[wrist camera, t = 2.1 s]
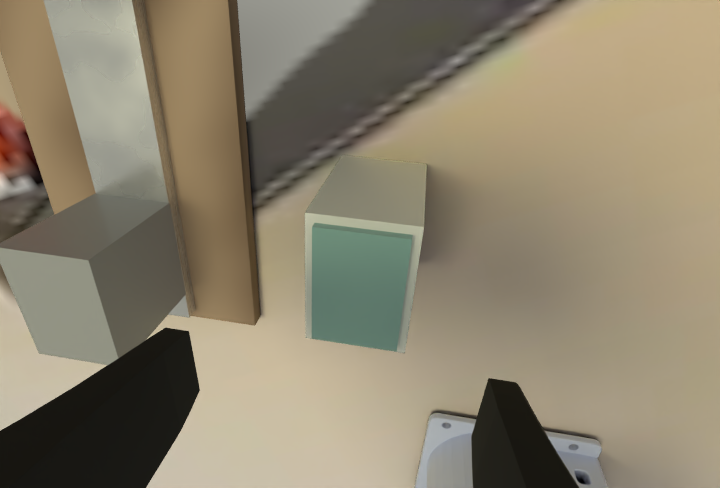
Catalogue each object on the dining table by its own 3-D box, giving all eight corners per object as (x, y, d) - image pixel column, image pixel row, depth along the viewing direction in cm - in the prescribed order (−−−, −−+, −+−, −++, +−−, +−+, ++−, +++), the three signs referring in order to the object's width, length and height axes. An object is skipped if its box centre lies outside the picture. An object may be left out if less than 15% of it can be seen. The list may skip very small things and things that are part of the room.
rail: (98, -272, 12) (80, -287, 11) (196, 309, 22) (189, 317, 22) (-11, -271, 12) (-34, -286, 12) (135, 300, 23) (126, 307, 22)
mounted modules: (95, -209, 12) (-95, -337, 8) (186, 294, 21) (121, 367, 16) (-16, -211, 12) (-256, -333, 8) (119, 284, 21) (39, 353, 17)
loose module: (426, 163, 17) (424, 231, 12) (412, 264, 20) (404, 359, 14) (342, 154, 18) (301, 216, 12) (338, 254, 20) (303, 343, 15)
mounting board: (216, -281, 12) (202, -299, 11) (260, 316, 23) (255, 325, 22) (-86, -279, 13) (-115, -296, 12) (92, 290, 24) (82, 299, 23)
